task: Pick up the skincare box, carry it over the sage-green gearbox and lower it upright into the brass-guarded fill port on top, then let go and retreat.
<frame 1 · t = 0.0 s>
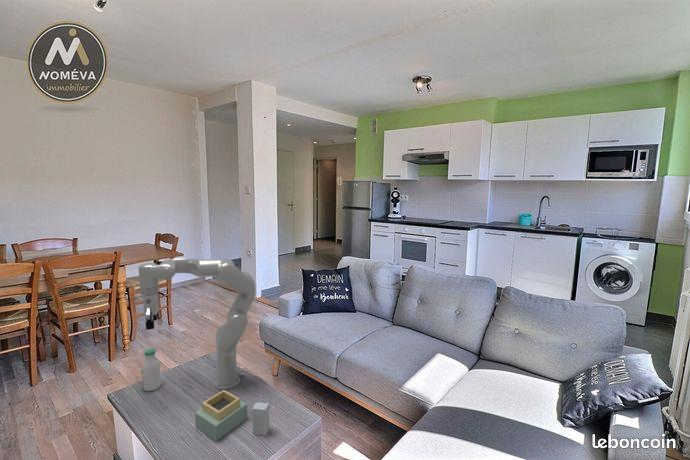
hand: (151, 324, 153), 37 cm above the table, tool pointing down, fingers open, 9 cm apart
skincare box: (261, 431, 138), on the table
gearbox: (221, 422, 142), on the table
milk bottle: (152, 387, 165), on the table
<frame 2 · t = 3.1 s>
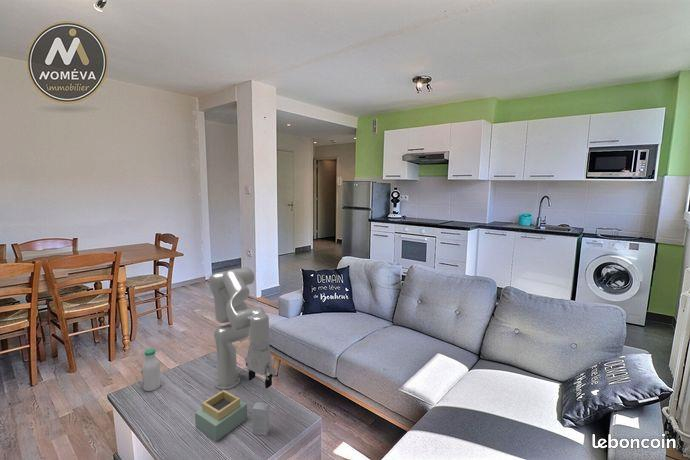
hand: (260, 382, 135), 23 cm above the table, tool pointing down, fingers open, 9 cm apart
nothing on the table moved.
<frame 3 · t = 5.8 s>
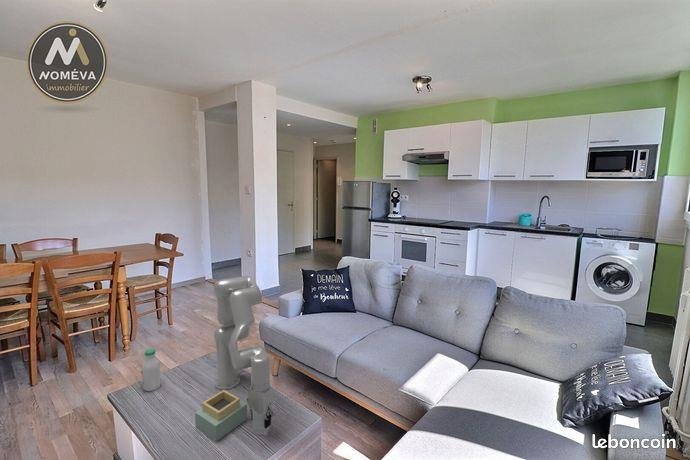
hand: (261, 422, 137), 4 cm above the table, tool pointing down, fingers closed on skincare box, 7 cm apart
skincare box: (261, 431, 138), on the table, touching gripper
everything else where it was.
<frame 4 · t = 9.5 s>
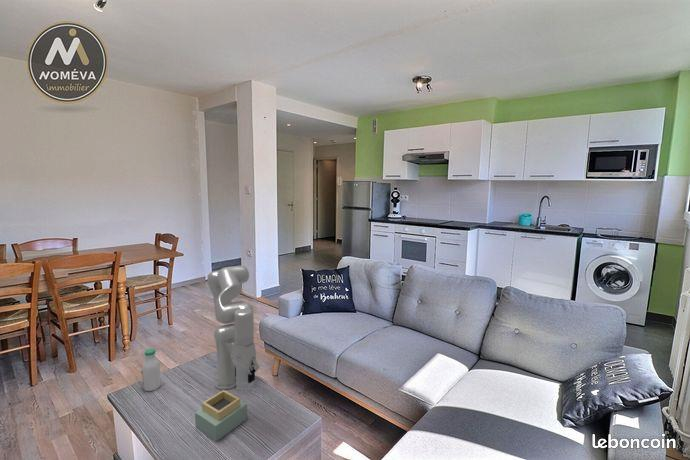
hand: (244, 378, 137), 23 cm above the table, tool pointing down, fingers closed on skincare box, 7 cm apart
skincare box: (245, 387, 137), point 19 cm above the table, touching gripper
everything else where it was.
when the fingers open (13 cm above the table, at t = 13.4 s): skincare box drops 1 cm, resting on gearbox.
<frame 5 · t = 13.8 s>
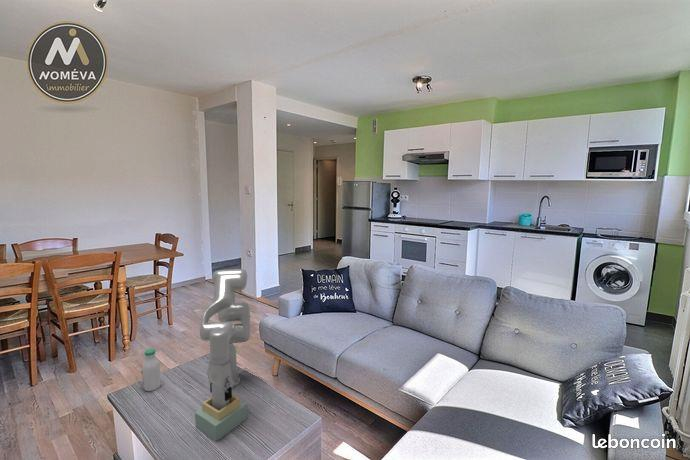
hand: (221, 394, 141), 13 cm above the table, tool pointing down, fingers open, 9 cm apart
skincare box: (221, 407, 142), point 7 cm above the table, touching gearbox
everything else where it was.
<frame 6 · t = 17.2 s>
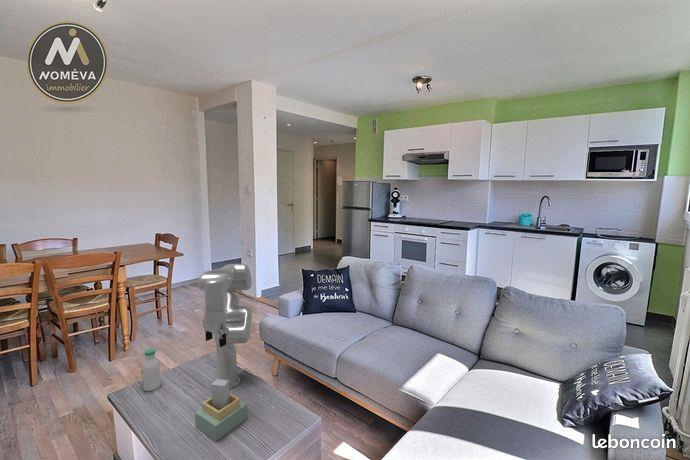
hand: (215, 342, 145), 33 cm above the table, tool pointing down, fingers open, 9 cm apart
nothing on the table moved.
at the end: skincare box 0.4 cm off-centre on the gearbox, point 6.9 cm above the gearbox's base; skincare box tilted 0°; the gripper is holding nothing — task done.
